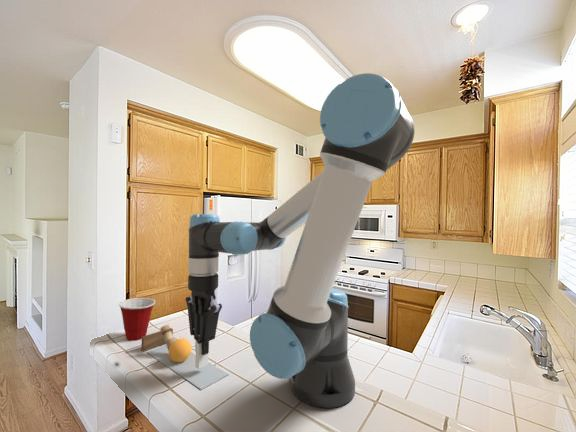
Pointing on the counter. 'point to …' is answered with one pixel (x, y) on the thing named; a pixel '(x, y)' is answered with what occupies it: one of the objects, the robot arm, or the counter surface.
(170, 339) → the pin
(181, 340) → the ball
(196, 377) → the lane mark
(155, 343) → the board
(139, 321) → the plastic cup
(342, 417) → the counter surface
